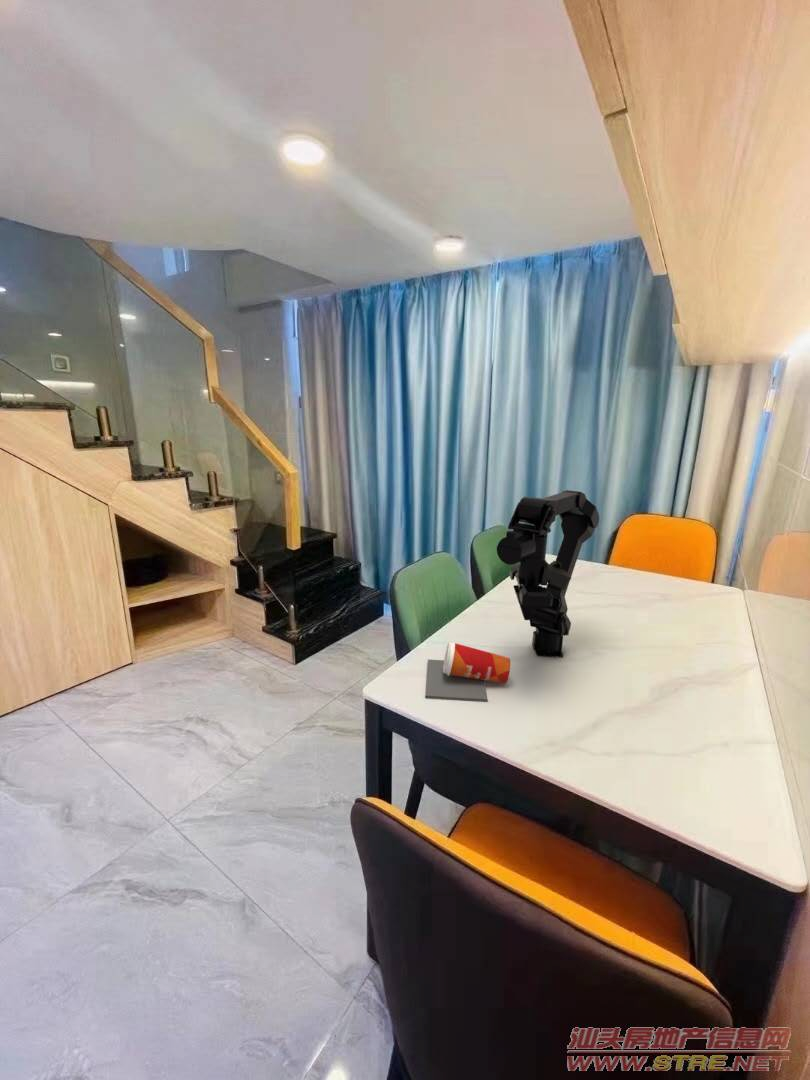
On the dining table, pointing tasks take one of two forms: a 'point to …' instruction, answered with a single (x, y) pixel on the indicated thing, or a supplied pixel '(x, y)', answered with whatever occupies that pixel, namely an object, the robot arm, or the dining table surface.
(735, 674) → the dining table surface
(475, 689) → the mat
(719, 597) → the dining table surface
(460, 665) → the paper cup
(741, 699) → the dining table surface
